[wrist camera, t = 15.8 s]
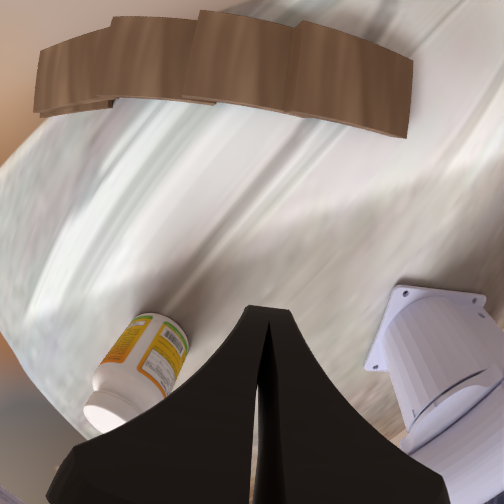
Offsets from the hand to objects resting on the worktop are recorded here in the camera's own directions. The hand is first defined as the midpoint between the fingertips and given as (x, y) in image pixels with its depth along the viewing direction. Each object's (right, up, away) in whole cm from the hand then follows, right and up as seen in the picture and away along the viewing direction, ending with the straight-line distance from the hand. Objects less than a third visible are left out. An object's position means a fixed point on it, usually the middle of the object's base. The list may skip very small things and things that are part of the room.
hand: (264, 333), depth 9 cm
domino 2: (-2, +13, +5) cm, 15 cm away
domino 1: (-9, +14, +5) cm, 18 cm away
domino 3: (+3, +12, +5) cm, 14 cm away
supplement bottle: (-8, -5, +14) cm, 17 cm away
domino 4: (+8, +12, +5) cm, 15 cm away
